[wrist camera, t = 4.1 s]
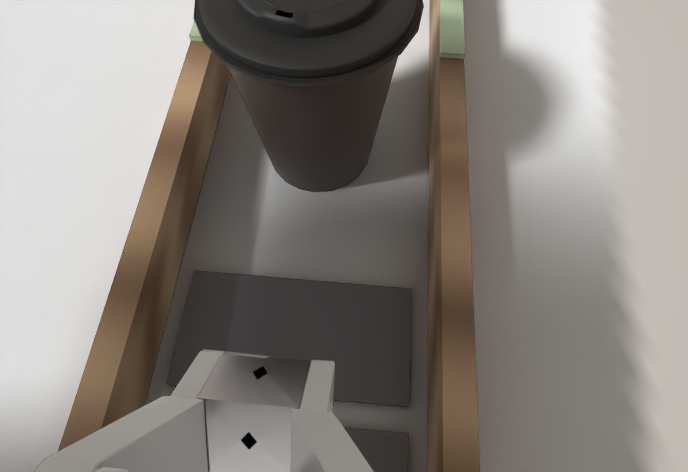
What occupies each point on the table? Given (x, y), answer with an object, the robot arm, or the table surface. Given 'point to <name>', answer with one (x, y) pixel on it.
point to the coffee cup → (311, 76)
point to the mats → (310, 339)
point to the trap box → (175, 222)
